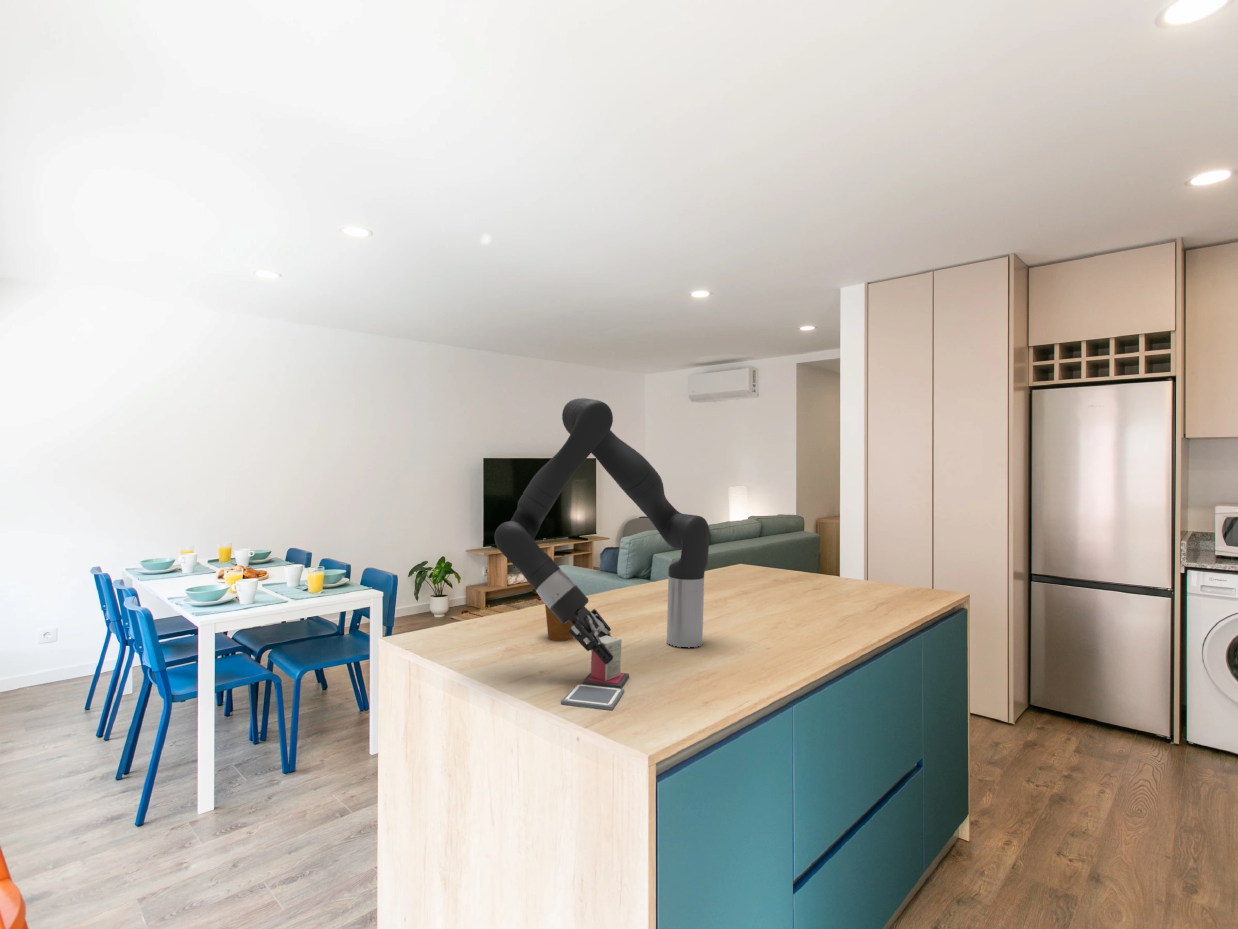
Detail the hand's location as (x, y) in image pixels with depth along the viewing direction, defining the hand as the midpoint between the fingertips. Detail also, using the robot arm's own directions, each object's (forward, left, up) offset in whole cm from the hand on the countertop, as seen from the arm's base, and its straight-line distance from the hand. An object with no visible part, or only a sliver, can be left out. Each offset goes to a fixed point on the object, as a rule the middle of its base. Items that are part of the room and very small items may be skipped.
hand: (614, 656), depth 134 cm
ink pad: (0, -1, -5) cm, 6 cm away
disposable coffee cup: (-29, -21, -6) cm, 37 cm away
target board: (+10, -1, -5) cm, 11 cm away
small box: (0, -2, -5) cm, 5 cm away
